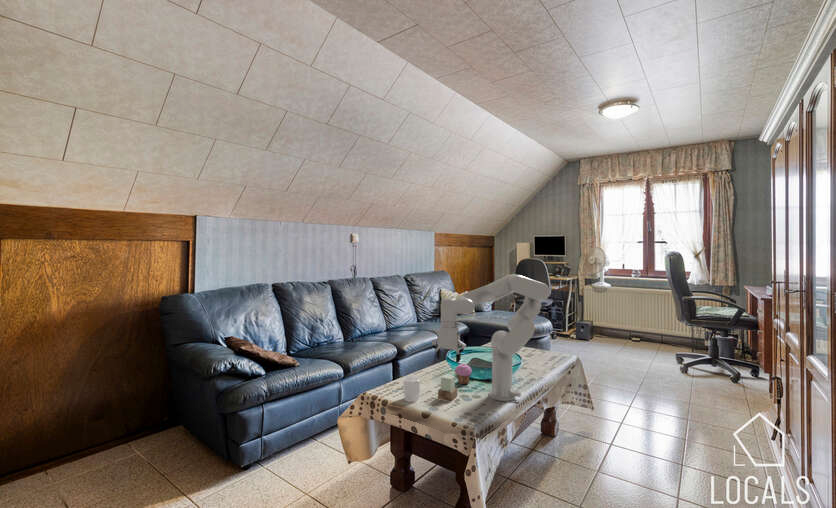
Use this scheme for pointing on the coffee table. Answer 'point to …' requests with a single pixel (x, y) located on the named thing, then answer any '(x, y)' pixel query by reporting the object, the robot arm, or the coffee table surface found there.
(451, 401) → the mat
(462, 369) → the cupcake
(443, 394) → the walnut base block
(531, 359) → the coffee table surface
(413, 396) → the white cup
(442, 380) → the sage cube
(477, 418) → the coffee table surface
